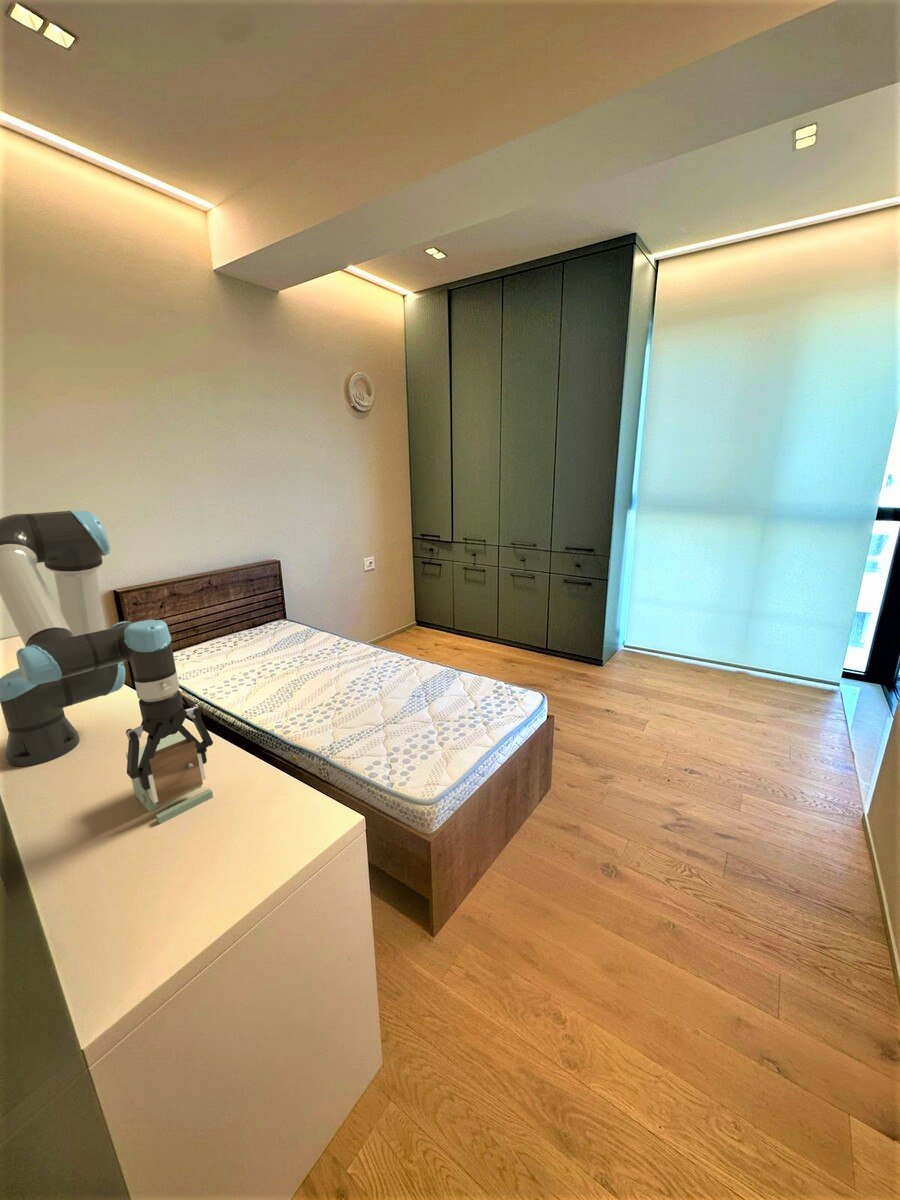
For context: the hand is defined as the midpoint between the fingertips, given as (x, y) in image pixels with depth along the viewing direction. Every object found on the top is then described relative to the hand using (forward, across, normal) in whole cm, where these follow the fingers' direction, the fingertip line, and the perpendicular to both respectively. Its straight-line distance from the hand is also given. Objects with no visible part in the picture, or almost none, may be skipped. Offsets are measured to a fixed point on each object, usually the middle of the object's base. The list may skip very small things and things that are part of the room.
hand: (178, 788), depth 103 cm
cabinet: (+4, 0, +4) cm, 6 cm away
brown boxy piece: (+1, 0, 0) cm, 1 cm away
